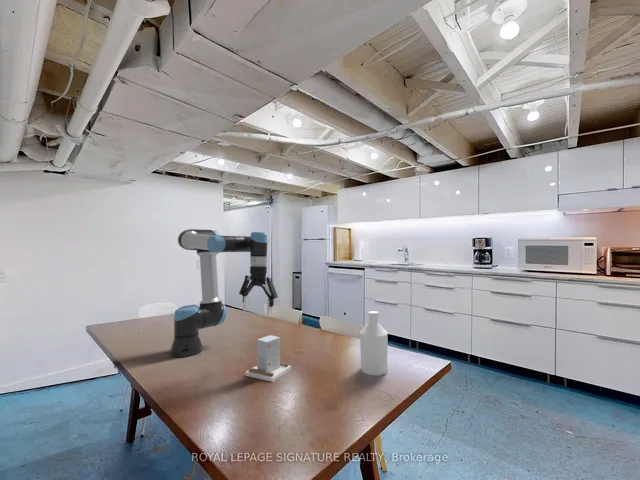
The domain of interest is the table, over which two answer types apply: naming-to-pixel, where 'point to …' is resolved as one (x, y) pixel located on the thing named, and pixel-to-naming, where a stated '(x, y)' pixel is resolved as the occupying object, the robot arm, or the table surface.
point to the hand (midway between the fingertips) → (257, 311)
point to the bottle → (373, 346)
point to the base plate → (269, 375)
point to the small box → (268, 353)
